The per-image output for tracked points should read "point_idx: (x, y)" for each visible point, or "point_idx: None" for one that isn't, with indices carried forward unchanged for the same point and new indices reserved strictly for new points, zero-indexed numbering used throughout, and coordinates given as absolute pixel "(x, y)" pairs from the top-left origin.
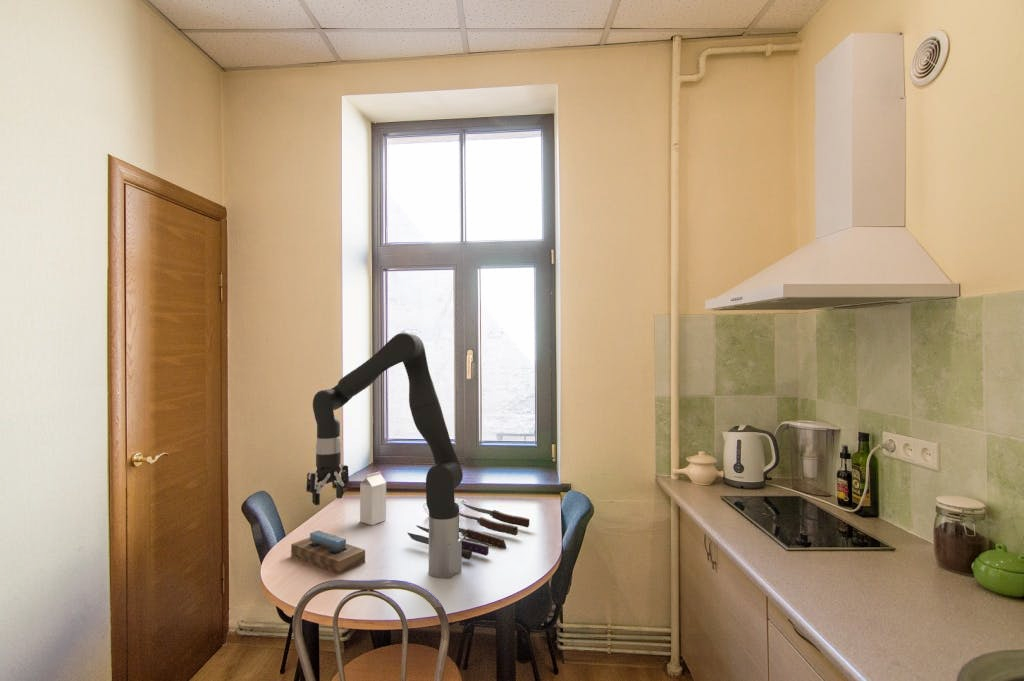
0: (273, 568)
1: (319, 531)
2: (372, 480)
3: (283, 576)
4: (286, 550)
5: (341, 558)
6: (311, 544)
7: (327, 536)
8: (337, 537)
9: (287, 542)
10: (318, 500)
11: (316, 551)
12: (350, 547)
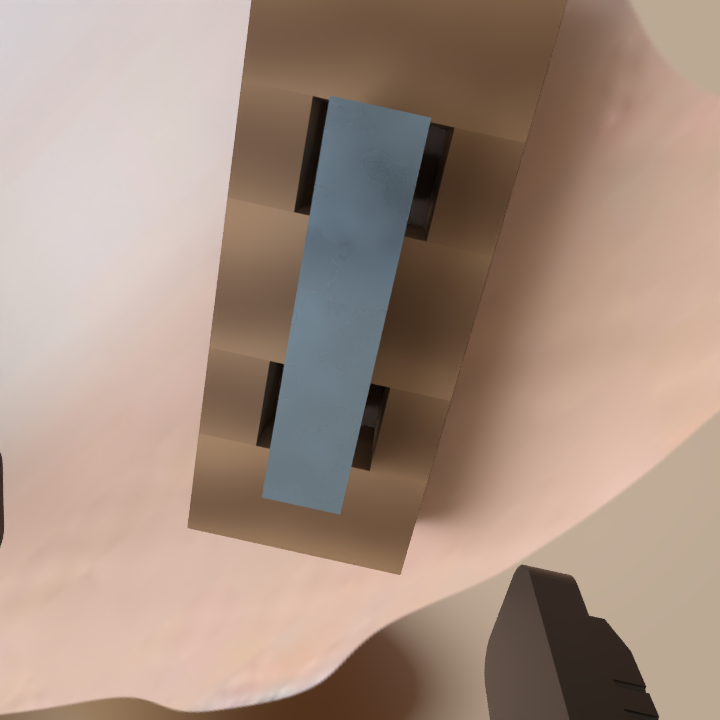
0: (575, 500)
1: (278, 470)
2: None
3: (660, 371)
4: (343, 597)
5: (509, 1)
6: None
7: (342, 328)
8: (324, 217)
9: (254, 660)
10: (584, 640)
11: (449, 326)
12: (275, 104)
